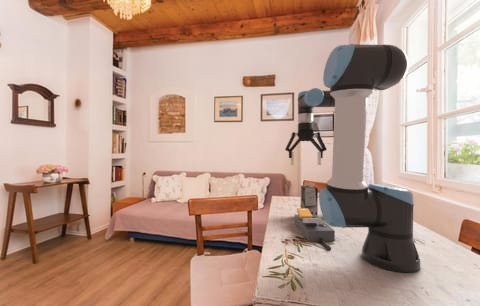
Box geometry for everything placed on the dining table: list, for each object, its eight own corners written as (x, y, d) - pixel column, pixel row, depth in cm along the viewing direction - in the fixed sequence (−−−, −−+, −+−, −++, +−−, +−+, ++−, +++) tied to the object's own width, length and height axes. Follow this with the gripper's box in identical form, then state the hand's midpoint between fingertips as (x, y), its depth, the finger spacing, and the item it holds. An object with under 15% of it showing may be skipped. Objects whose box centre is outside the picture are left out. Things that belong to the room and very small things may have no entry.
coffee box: (318, 220, 112) (318, 187, 112) (304, 220, 112) (304, 187, 112) (312, 215, 121) (312, 185, 121) (300, 215, 121) (300, 185, 121)
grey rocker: (320, 223, 89) (320, 218, 90) (307, 222, 89) (307, 218, 90) (315, 222, 96) (314, 218, 96) (303, 222, 96) (302, 218, 96)
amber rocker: (312, 219, 100) (312, 216, 99) (300, 219, 100) (301, 216, 99) (307, 211, 106) (308, 208, 106) (297, 211, 106) (297, 208, 106)
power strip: (344, 250, 79) (344, 236, 79) (314, 250, 79) (314, 236, 79) (315, 223, 109) (315, 213, 109) (294, 222, 109) (294, 213, 109)
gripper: (327, 123, 120) (327, 164, 120) (279, 123, 120) (279, 164, 120) (333, 121, 112) (333, 165, 112) (282, 121, 113) (282, 165, 113)
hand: (305, 164), depth 116 cm, fingers open, 13 cm apart
